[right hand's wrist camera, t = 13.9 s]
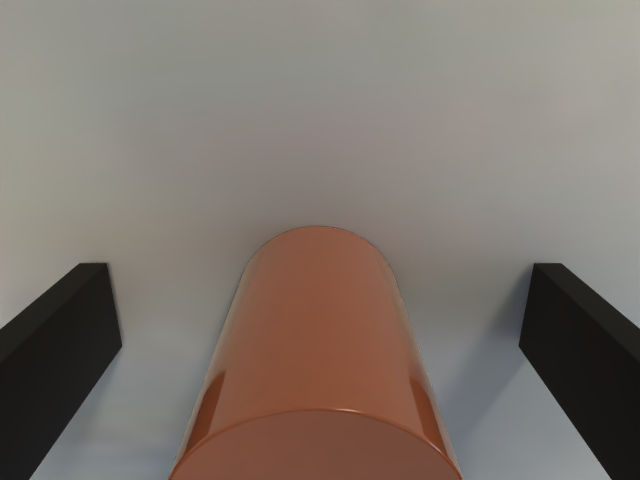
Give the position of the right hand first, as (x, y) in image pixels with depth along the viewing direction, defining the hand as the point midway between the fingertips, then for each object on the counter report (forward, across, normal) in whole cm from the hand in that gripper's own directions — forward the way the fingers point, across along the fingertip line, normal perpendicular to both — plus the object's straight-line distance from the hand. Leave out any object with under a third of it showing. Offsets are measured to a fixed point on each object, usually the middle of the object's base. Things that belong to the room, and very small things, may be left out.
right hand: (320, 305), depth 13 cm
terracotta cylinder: (0, 0, 0) cm, 0 cm away
